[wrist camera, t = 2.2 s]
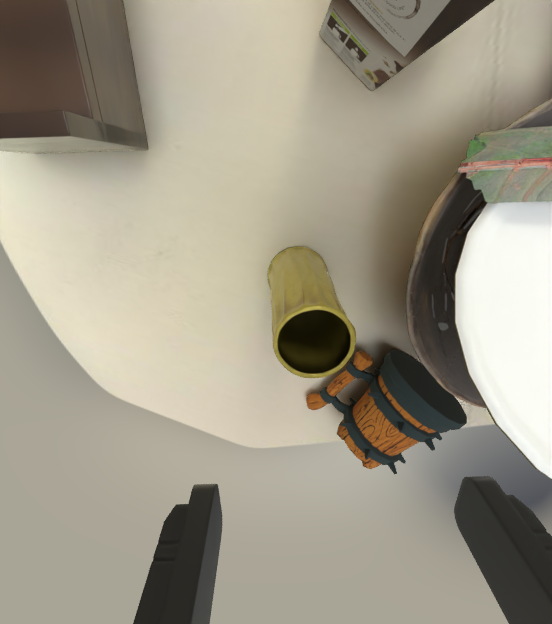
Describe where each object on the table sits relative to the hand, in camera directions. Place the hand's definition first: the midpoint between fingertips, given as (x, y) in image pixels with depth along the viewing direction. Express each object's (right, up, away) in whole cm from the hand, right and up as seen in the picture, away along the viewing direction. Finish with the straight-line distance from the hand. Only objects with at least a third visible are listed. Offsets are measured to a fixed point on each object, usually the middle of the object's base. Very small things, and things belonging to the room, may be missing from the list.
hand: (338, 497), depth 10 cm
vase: (0, +10, +23) cm, 25 cm away
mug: (+12, 0, +22) cm, 26 cm away
